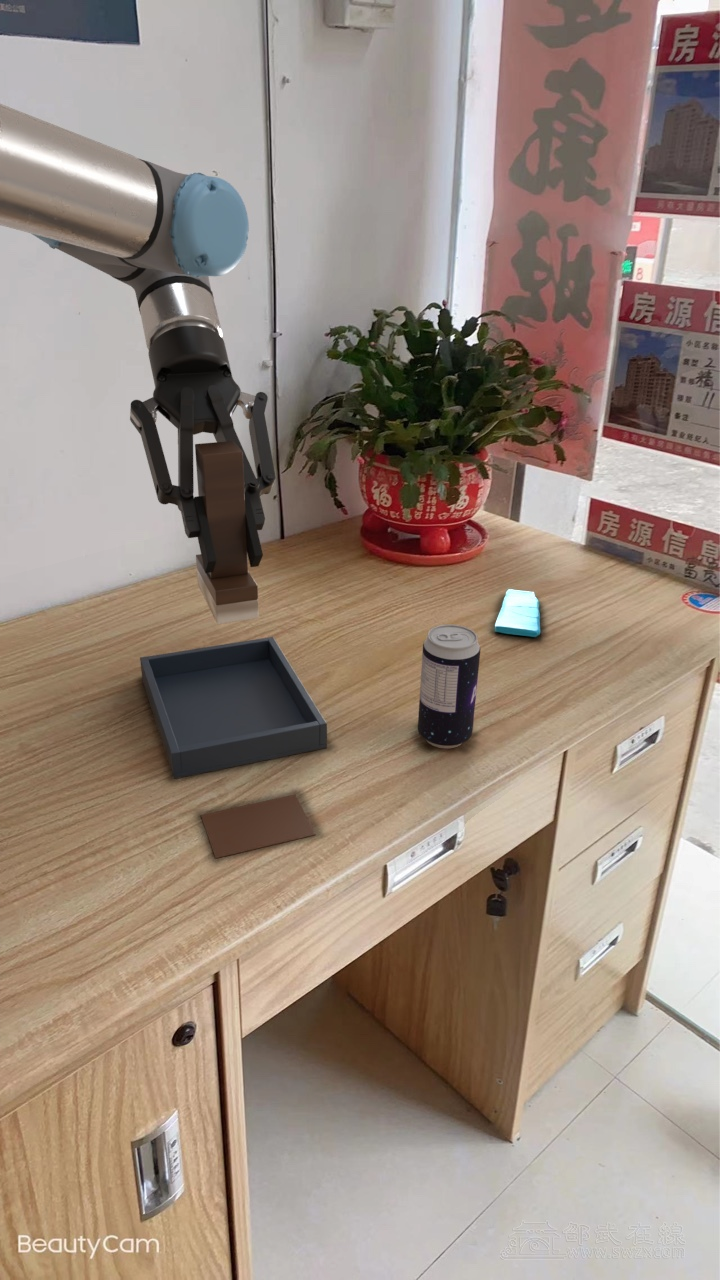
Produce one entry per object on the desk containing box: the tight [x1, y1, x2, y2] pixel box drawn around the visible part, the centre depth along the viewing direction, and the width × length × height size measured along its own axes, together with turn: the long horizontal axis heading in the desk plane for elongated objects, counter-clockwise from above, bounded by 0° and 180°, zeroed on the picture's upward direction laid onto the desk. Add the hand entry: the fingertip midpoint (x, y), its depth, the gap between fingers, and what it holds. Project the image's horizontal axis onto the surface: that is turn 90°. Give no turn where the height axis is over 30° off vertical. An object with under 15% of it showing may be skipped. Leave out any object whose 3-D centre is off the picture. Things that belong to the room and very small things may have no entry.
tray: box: [139, 636, 328, 780], centre depth 95 cm, size 16×20×3 cm
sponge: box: [494, 588, 541, 638], centre depth 117 cm, size 2×12×6 cm
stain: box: [200, 793, 317, 859], centre depth 79 cm, size 9×6×1 cm, turn 111°
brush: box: [194, 441, 260, 625], centre depth 83 cm, size 9×4×16 cm, turn 21°
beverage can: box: [417, 624, 481, 749], centre depth 89 cm, size 6×6×12 cm
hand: (233, 563), depth 81 cm, fingers closed on brush, 4 cm apart
